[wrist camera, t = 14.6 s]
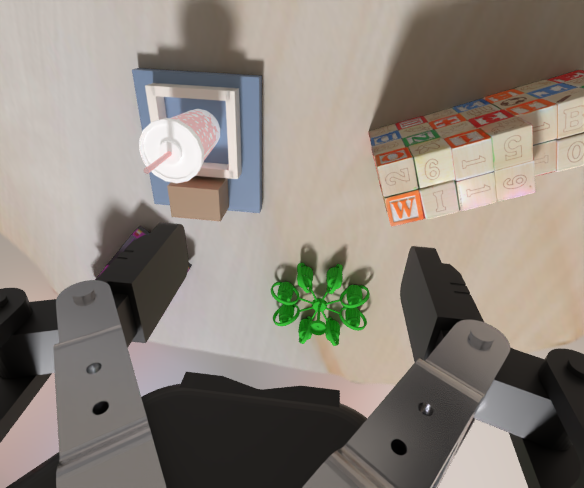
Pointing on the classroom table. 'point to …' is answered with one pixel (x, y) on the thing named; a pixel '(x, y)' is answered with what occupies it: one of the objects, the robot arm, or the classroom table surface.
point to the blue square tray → (229, 149)
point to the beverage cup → (179, 145)
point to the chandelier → (320, 305)
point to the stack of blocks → (480, 149)
